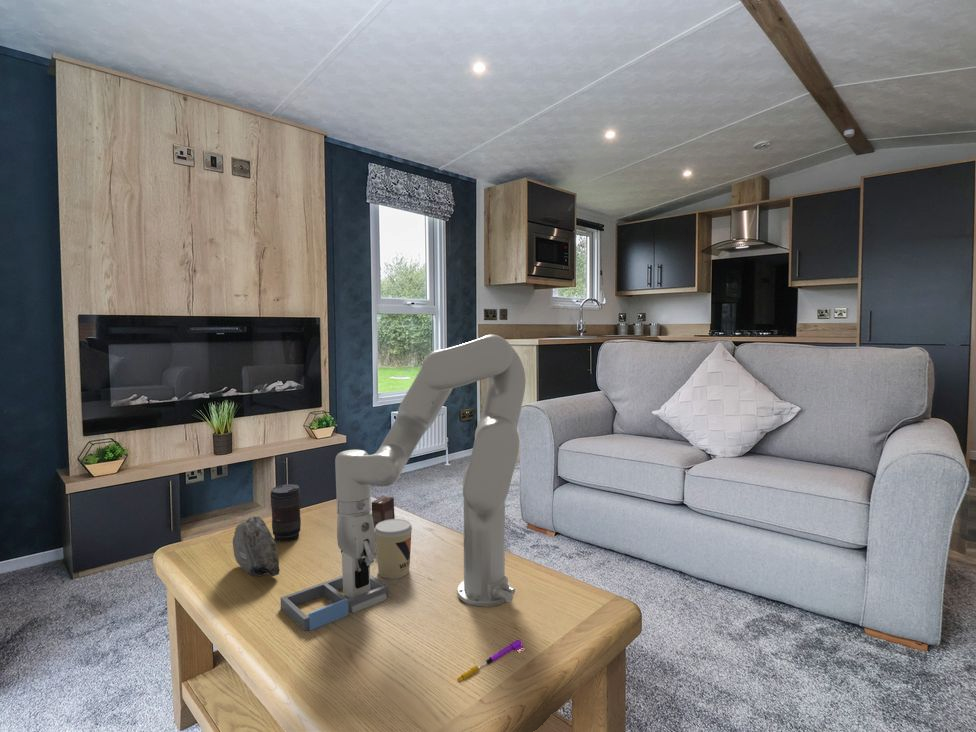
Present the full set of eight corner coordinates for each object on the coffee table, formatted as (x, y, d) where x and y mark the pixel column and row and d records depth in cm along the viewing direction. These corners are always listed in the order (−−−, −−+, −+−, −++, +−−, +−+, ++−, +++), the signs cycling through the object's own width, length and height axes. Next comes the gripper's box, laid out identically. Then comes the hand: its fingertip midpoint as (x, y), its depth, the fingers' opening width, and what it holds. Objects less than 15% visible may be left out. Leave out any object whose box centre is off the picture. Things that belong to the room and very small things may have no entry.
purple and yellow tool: (517, 642, 103) (455, 680, 92) (518, 636, 103) (456, 675, 91) (527, 650, 101) (465, 691, 90) (528, 645, 101) (466, 686, 90)
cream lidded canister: (404, 581, 127) (404, 533, 126) (369, 578, 129) (368, 530, 128) (417, 564, 136) (417, 519, 136) (383, 561, 138) (383, 517, 137)
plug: (370, 593, 121) (369, 546, 120) (352, 600, 118) (351, 552, 117) (360, 587, 124) (359, 540, 123) (343, 593, 121) (341, 546, 120)
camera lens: (265, 541, 152) (264, 490, 151) (284, 531, 159) (282, 483, 158) (289, 544, 149) (287, 493, 148) (307, 534, 157) (305, 485, 156)
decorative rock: (281, 580, 128) (280, 520, 127) (254, 589, 123) (251, 527, 122) (256, 559, 140) (254, 504, 139) (230, 567, 135) (227, 510, 134)
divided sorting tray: (390, 597, 120) (389, 582, 119) (305, 632, 106) (305, 615, 106) (361, 578, 129) (361, 564, 129) (280, 608, 115) (280, 593, 115)
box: (382, 535, 156) (381, 495, 155) (395, 537, 155) (395, 497, 154) (371, 542, 151) (370, 501, 150) (385, 544, 149) (384, 503, 148)
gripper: (388, 509, 116) (390, 589, 117) (350, 493, 128) (352, 565, 129) (357, 518, 111) (360, 601, 112) (321, 500, 123) (324, 575, 124)
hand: (356, 581), depth 121 cm, fingers closed on plug, 4 cm apart
